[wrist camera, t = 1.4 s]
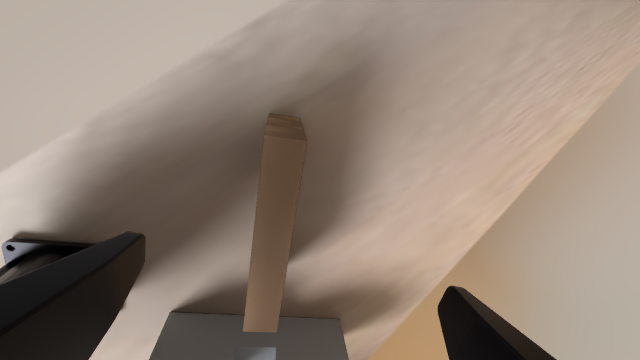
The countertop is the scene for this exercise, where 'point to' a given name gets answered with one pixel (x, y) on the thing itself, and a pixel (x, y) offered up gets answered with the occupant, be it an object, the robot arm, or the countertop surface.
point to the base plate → (248, 339)
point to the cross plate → (274, 220)
